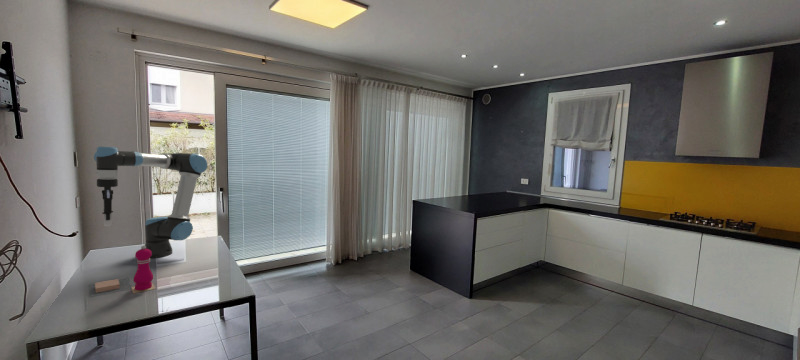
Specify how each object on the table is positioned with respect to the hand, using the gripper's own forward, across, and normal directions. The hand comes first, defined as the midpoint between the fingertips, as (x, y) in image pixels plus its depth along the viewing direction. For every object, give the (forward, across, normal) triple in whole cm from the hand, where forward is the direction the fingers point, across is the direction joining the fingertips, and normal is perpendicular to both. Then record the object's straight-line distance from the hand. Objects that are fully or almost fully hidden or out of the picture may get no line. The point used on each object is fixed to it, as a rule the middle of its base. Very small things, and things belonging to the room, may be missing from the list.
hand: (107, 226), depth 157 cm
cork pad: (+26, +24, +11) cm, 37 cm away
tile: (+25, +10, -1) cm, 27 cm away
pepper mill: (+26, +24, +11) cm, 37 cm away
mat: (+26, +14, 0) cm, 30 cm away
